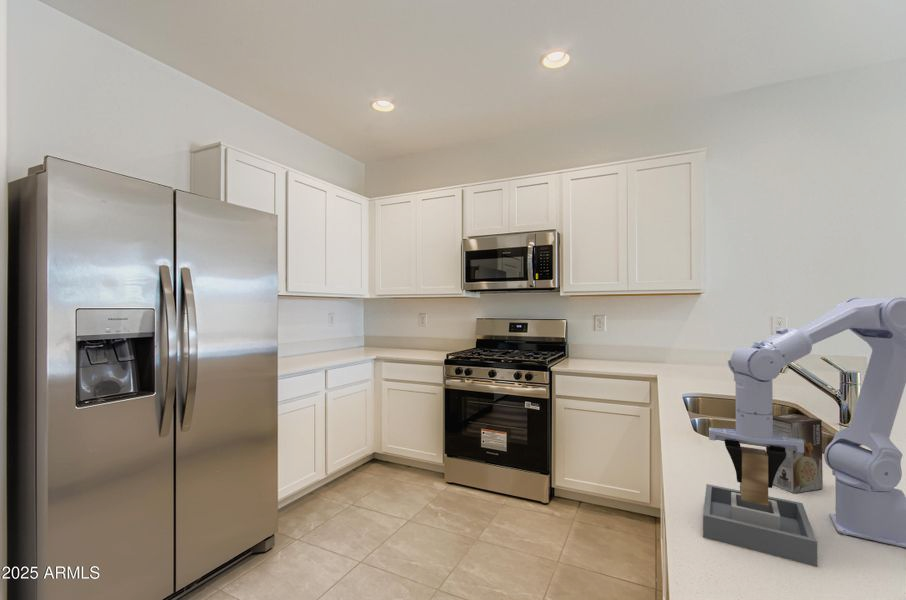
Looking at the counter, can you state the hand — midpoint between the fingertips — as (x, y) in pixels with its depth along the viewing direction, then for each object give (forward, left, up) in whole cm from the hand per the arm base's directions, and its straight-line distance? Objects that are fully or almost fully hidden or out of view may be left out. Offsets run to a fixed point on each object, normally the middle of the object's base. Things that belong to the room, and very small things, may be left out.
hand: (753, 483), depth 80 cm
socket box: (0, 0, -9) cm, 9 cm away
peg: (0, 0, -3) cm, 3 cm away
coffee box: (-9, -29, -9) cm, 32 cm away
